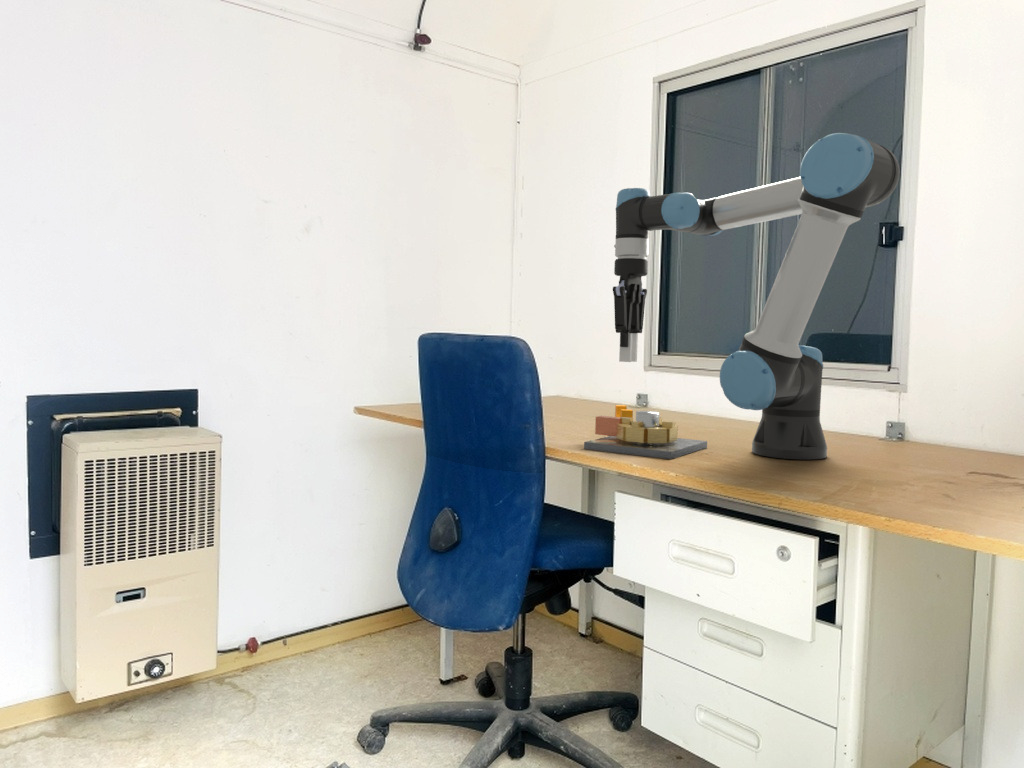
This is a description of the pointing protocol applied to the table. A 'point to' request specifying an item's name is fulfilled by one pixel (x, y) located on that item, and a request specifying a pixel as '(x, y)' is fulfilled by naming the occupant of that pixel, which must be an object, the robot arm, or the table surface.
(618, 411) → the pipe clamp
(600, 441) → the flange plate
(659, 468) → the table surface
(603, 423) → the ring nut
